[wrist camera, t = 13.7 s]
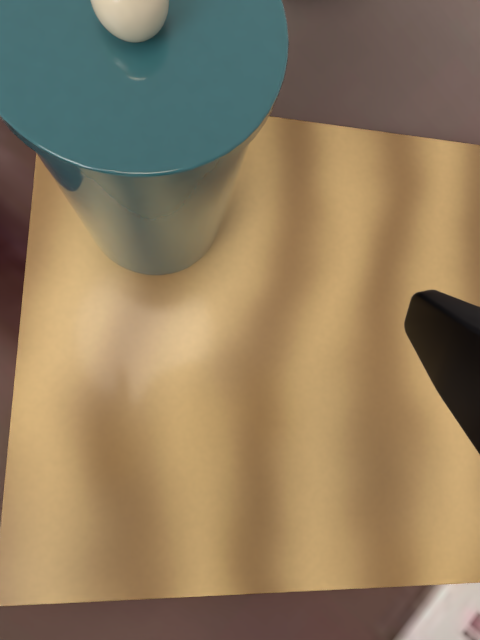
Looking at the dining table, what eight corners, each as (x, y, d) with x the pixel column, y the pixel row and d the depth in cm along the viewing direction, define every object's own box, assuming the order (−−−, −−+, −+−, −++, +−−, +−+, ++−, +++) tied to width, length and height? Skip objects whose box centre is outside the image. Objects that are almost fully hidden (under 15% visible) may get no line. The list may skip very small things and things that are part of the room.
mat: (473, 149, 24) (480, 144, 24) (482, 576, 22) (490, 582, 21) (46, 92, 21) (42, 84, 20) (-3, 599, 18) (-8, 607, 18)
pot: (241, 168, 21) (344, -118, 9) (204, 298, 20) (257, 194, 8) (105, 122, 20) (-7, -278, 8) (59, 256, 19) (-157, 55, 7)
